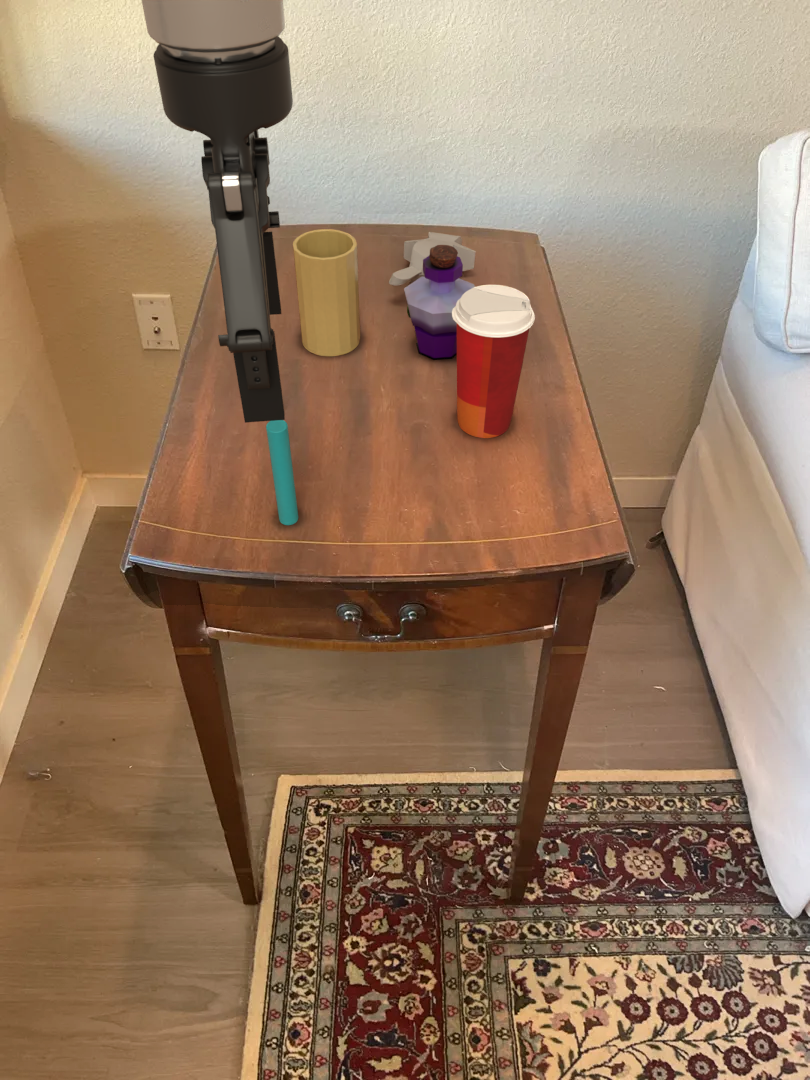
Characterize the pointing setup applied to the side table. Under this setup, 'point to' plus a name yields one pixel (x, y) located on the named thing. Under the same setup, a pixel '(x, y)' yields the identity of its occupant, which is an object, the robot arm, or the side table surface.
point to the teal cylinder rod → (282, 471)
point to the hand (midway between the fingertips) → (264, 361)
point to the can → (327, 291)
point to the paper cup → (490, 356)
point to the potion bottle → (437, 303)
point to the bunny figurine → (421, 250)
